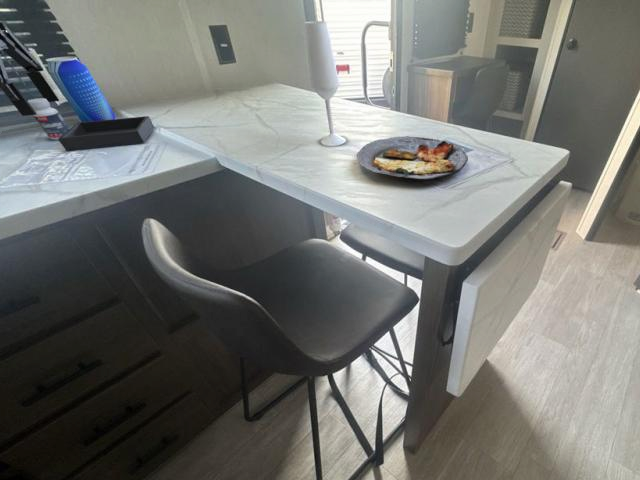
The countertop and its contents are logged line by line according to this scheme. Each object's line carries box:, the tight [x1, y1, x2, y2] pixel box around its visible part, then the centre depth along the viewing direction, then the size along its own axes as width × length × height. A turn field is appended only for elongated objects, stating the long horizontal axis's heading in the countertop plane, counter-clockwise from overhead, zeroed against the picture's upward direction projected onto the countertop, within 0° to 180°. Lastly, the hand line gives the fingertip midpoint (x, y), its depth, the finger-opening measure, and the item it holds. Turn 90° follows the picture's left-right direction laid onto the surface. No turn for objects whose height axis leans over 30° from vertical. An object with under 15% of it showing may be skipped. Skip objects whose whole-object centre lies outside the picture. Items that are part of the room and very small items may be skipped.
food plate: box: [356, 135, 469, 180], centre depth 72 cm, size 25×23×4 cm
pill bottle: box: [27, 97, 71, 141], centre depth 84 cm, size 5×5×9 cm
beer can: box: [45, 56, 117, 122], centre depth 88 cm, size 8×8×16 cm
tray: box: [57, 115, 156, 152], centre depth 85 cm, size 18×14×3 cm
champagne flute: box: [304, 20, 347, 147], centre depth 75 cm, size 7×7×24 cm
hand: (42, 107), depth 82 cm, fingers open, 13 cm apart
